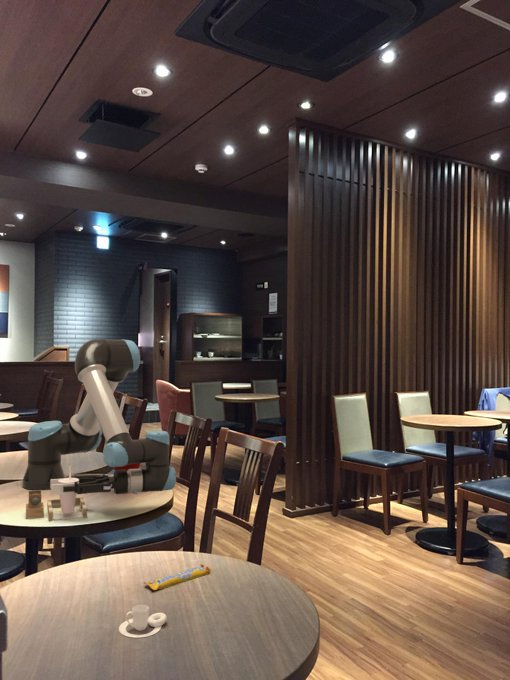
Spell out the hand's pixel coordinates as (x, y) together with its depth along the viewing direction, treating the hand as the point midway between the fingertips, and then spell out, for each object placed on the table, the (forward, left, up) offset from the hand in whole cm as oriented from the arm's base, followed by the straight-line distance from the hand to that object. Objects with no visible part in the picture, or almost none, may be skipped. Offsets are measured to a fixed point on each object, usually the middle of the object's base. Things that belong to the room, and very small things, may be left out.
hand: (51, 486), depth 176 cm
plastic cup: (-33, +17, -10) cm, 38 cm away
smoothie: (-2, +5, -8) cm, 10 cm away
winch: (-3, -6, -9) cm, 11 cm away
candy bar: (+45, +44, -10) cm, 64 cm away
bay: (-6, +3, -9) cm, 12 cm away
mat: (-2, +5, -9) cm, 11 cm away
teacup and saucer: (+69, +41, -10) cm, 82 cm away
